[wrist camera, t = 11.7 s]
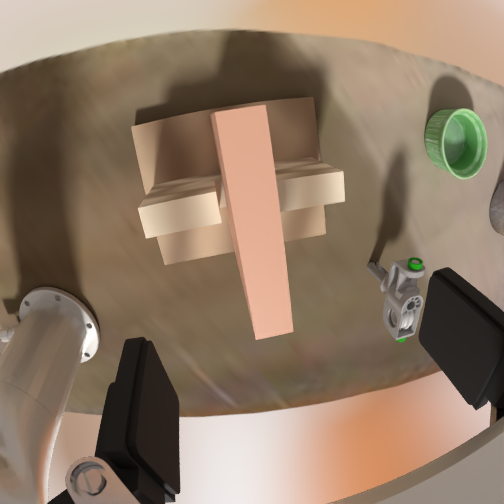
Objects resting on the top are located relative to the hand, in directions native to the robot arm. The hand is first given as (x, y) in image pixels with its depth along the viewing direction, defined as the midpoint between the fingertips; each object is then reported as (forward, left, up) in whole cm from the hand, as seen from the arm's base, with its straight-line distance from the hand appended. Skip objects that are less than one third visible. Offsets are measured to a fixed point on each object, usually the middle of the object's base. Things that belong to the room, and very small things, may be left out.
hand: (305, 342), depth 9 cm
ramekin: (+28, +2, -25) cm, 38 cm away
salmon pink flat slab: (0, 0, -24) cm, 24 cm away
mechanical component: (+16, -14, -25) cm, 33 cm away
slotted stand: (0, 0, -25) cm, 25 cm away
